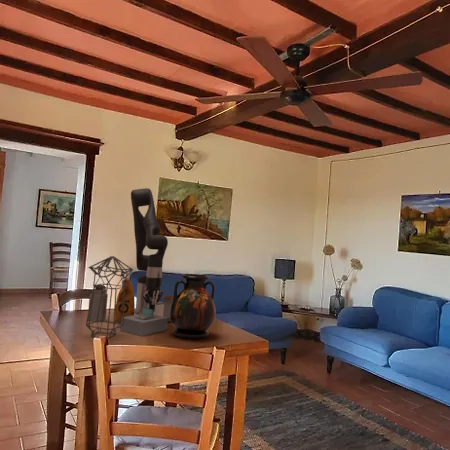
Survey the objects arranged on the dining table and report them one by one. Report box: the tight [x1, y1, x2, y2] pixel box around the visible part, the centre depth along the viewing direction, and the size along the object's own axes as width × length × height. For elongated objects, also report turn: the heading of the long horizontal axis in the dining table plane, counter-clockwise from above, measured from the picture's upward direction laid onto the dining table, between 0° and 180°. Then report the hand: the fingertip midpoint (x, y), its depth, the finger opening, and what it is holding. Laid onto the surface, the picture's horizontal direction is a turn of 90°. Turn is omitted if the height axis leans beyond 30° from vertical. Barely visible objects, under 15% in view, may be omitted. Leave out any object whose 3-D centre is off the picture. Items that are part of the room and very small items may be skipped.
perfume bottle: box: [87, 284, 109, 323], centre depth 205 cm, size 7×7×18 cm
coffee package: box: [115, 277, 136, 323], centre depth 207 cm, size 10×12×22 cm
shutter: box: [134, 308, 154, 319], centre depth 190 cm, size 6×7×4 cm
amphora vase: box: [170, 273, 217, 340], centre depth 188 cm, size 22×22×28 cm
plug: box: [153, 301, 164, 317], centre depth 207 cm, size 5×5×11 cm
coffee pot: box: [162, 295, 174, 323], centre depth 218 cm, size 21×12×15 cm, turn 104°
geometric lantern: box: [85, 255, 134, 339], centre depth 177 cm, size 16×16×35 cm
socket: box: [119, 314, 168, 337], centre depth 191 cm, size 17×14×6 cm
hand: (151, 312), depth 194 cm, fingers closed
